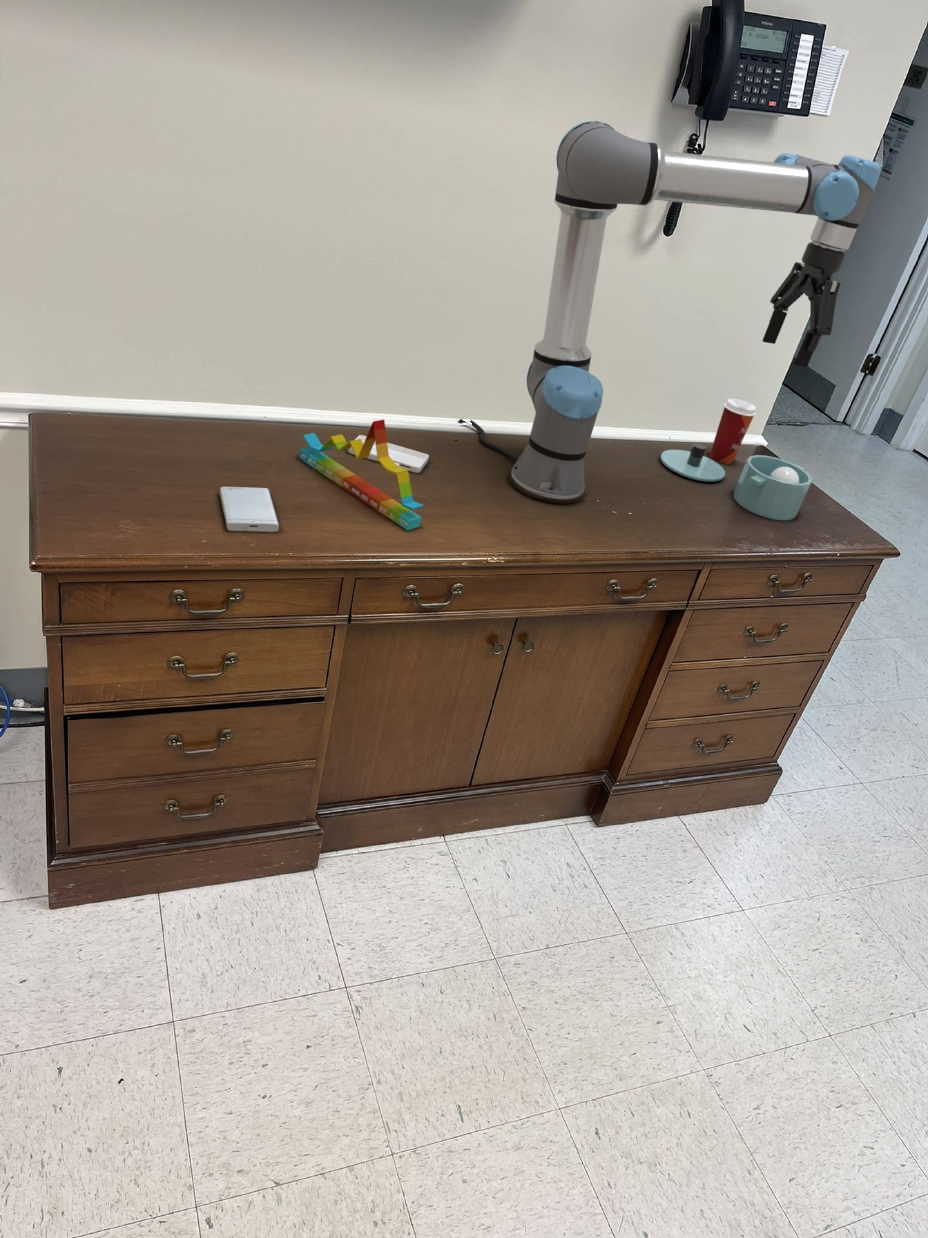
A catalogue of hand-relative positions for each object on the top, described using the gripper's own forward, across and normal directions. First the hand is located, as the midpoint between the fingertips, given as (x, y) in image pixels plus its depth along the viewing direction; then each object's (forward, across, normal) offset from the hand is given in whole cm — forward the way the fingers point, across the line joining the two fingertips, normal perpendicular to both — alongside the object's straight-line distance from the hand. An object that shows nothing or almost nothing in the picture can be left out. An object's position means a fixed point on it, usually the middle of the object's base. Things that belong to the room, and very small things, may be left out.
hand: (783, 353), depth 187 cm
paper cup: (+32, +19, -7) cm, 38 cm away
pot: (+32, -5, -7) cm, 33 cm away
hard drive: (+33, -28, +105) cm, 113 cm away
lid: (+31, +11, +4) cm, 33 cm away
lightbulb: (+30, -2, -7) cm, 31 cm away
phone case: (+33, 0, +77) cm, 84 cm away
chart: (+33, -16, +85) cm, 93 cm away
